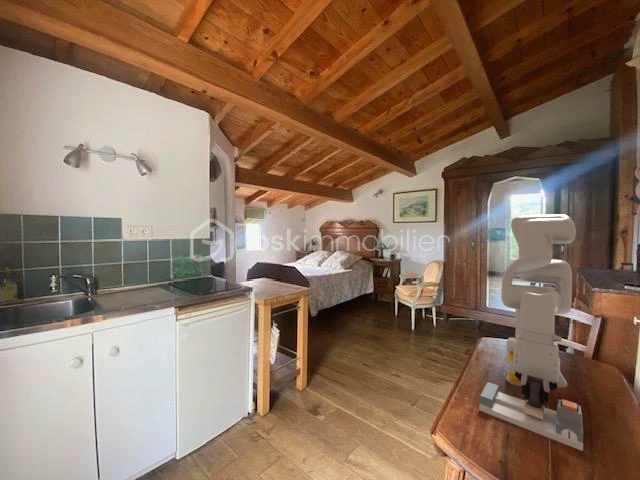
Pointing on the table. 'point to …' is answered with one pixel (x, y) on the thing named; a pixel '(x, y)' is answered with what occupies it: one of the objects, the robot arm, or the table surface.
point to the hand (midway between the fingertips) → (534, 399)
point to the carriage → (534, 399)
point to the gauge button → (569, 405)
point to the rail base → (554, 425)
